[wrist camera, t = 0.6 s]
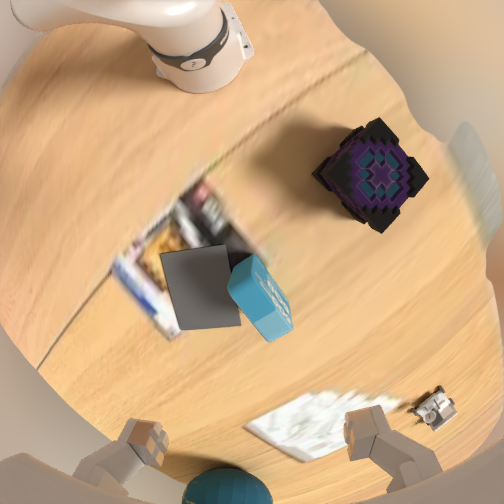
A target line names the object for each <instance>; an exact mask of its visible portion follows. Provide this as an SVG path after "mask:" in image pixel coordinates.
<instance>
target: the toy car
mask: <svg viewBox="0 0 504 504" xmlns="http://www.w3.org/2000/svg"><path fill="white" fill-rule="evenodd" d="M439 389H440V390H439V391H438V392H437V393H436V394H435V393H433V394H432V395H431V396H430V397H429V398H427V399H426V400H425V401H424V402H422V403H421V404H420V405H419V407H418V408H417V409H414V408H413V409H412V412H413V413H414V415H415V416H417V415H418V414H419V415H421V416H422V417H423V420H424V422H426V424H427V425H428V426H429V425H430V426H431V428H432V430H433V432H435V431H437V430H438V429H439V428H441V427H442V426H443V425H444V424H446V423H447V422H448V421H449V420H451V419H452V418H453V417H454V416H455V415H456V414H458V412H457V411H456V409H455V408H454V406H453V405H454V404H455V403H454V402H453V400H452V399H451V398H450V399H448V398H447V397H446V396H445V394H444V393H445V390H444V389H443V388H442V387H441V386H439Z"/></svg>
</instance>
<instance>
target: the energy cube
mask: <svg viewBox="0 0 504 504" xmlns="http://www.w3.org/2000/svg"><path fill="white" fill-rule="evenodd" d="M398 143H399V139H398V137H397V136H396V135H395V134H394V133H393V132H392V131H391V129H390V128H389V127H388V126H387V125H386V124H385V123H384V122H383V121H382V119H381V118H380V117H379V118H377V119H375V120H373V121H370V122H369V123H368V124H367V125H366V127H365V128H364V127H363V126H360V127H358V128H356V129H354V130H353V131H352V132H351V133H350V134H349V135H348V136H347V137H346V138H345V139H344V140H343V141H342V143H341V144H340V149H339V150H338V151H337V152H336V153H335V154H334V155H333V156H332V157H327V158H326V159H325V160H324V161H323V162H322V163H321V164H320V166H319V167H318V168H317V169H316V170H315V171H314V172H313V173H312V175H313V176H314V177H315V178H316V179H317V180H318V181H319V182H320V183H321V184H322V185H323V186H324V187H325V188H326V189H327V190H328V191H333V192H334V193H335V194H336V195H337V196H338V197H339V198H340V199H341V200H342V202H341V204H342V205H343V206H344V207H345V208H346V210H347V211H348V212H349V213H350V214H351V215H352V216H353V217H354V218H355V219H356V220H357V221H359V222H361V223H363V224H365V223H366V222H368V224H369V226H370V227H371V228H372V229H374V230H376V231H378V232H380V233H381V234H382V233H383V232H384V231H385V230H386V229H387V228H388V227H389V225H390V224H391V223H392V222H393V221H394V220H395V219H396V218H397V217H398V215H399V214H400V209H399V208H400V207H401V205H402V204H403V203H404V202H405V201H406V200H407V199H408V197H413V198H414V197H415V196H416V194H417V193H418V192H419V191H420V190H421V188H422V187H423V186H424V185H425V183H426V182H427V181H428V180H429V177H428V176H427V174H426V173H425V172H424V170H423V169H422V168H421V166H420V165H419V164H418V162H417V161H416V160H415V158H414V157H408V156H407V155H406V153H405V152H404V151H403V150H402V148H401V147H400V146H399V145H398Z"/></svg>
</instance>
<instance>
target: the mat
mask: <svg viewBox="0 0 504 504" xmlns="http://www.w3.org/2000/svg"><path fill="white" fill-rule="evenodd" d="M160 255H161V259H162V263H163V267H164V271H165V275H166V279H167V283H168V287H169V290H170V294H171V298H172V301H173V305H174V308H175V312H176V315H177V318H178V322H179V325H180V328H181V330H195V329H209V328H221V327H232V326H241V321H240V316H239V311H238V306H237V304H236V302H235V301H234V300H233V299H232V297H231V296H230V294H229V292H228V289H227V286H228V283H229V280H230V277H231V270H230V265H229V260H228V254H227V249H226V244H223V245H216V246H209V247H202V248H196V249H189V250H182V251H176V252H169V253H163V254H160Z"/></svg>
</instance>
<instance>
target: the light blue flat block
mask: <svg viewBox="0 0 504 504" xmlns="http://www.w3.org/2000/svg"><path fill="white" fill-rule="evenodd" d="M227 289H228V292H229V294H230V296H231V297H232V299H233V300H234V301H235V302H236V304H237V305H238V306H239V307H240V309H241V310H242V311H243V313H244V314H245V315H246V316H247V318H248V319H249V320H250V321H251V323H252V324H253V325H254V326H255V327H256V329H257V330H258V331H259V332H260V334H261V335H262V336H263V337H264V338H265V340H266V341H268V342H272V341H274V340H276V339H278V338H279V337H281V336H283V335H285V334H287V333H288V332H290V331H292V330H293V323H292V318H291V312H290V306H289V302H288V300H287V298H286V296H285V295H284V293H283V292H282V290H281V289H280V288H279V286H278V285H277V283H276V282H275V281H274V279H273V278H272V276H271V275H270V274H269V272H268V271H267V269H266V268H265V267H264V265H263V264H262V262H261V261H260V260H259V258H258V257H257V256H256V255H255V254H252V255H251V256H249V257H248V258H246V259H245V260H243V261H242V262H240V263H239V264H237V265H236V266H234V268H233V271H232V274H231V277H230V280H229V283H228V286H227Z"/></svg>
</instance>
